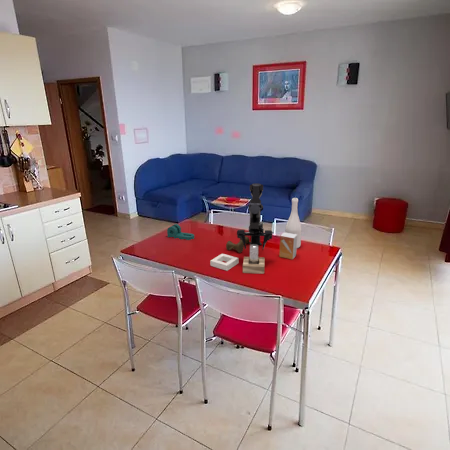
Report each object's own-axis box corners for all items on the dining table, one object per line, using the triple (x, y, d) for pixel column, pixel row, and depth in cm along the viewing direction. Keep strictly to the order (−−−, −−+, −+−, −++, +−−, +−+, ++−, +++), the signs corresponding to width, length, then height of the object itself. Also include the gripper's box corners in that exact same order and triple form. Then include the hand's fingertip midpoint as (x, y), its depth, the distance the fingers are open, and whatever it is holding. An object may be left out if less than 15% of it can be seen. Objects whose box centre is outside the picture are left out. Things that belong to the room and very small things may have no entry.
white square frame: (222, 258, 179) (222, 253, 178) (238, 262, 173) (238, 258, 172) (210, 265, 171) (210, 260, 170) (227, 270, 165) (227, 265, 164)
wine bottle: (296, 250, 187) (299, 201, 177) (282, 246, 193) (284, 199, 183) (303, 245, 195) (306, 197, 185) (289, 241, 200) (291, 195, 190)
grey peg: (248, 267, 168) (248, 244, 164) (256, 265, 169) (256, 243, 165) (251, 270, 164) (251, 248, 160) (259, 269, 165) (259, 246, 161)
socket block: (244, 263, 173) (244, 256, 171) (264, 264, 171) (264, 257, 170) (242, 272, 162) (242, 265, 161) (264, 273, 161) (264, 266, 160)
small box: (279, 256, 179) (279, 235, 175) (282, 252, 185) (283, 232, 180) (292, 259, 176) (294, 238, 171) (296, 255, 181) (297, 234, 176)
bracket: (167, 237, 212) (166, 226, 210) (172, 234, 218) (172, 223, 215) (191, 240, 206) (190, 229, 203) (196, 237, 212) (195, 226, 209)
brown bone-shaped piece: (253, 245, 197) (235, 256, 181) (240, 242, 202) (222, 253, 187) (253, 236, 195) (235, 246, 180) (240, 234, 201) (221, 243, 185)
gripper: (237, 215, 167) (235, 242, 160) (272, 216, 165) (272, 243, 158) (238, 224, 177) (236, 250, 170) (271, 225, 175) (271, 251, 168)
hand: (254, 249), depth 166 cm, fingers open, 9 cm apart
